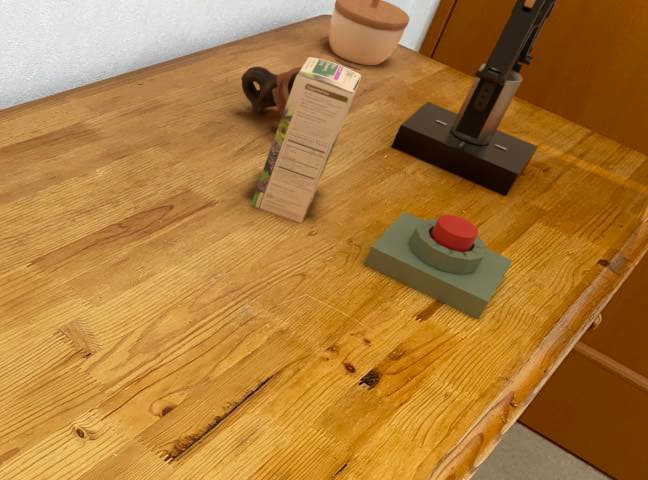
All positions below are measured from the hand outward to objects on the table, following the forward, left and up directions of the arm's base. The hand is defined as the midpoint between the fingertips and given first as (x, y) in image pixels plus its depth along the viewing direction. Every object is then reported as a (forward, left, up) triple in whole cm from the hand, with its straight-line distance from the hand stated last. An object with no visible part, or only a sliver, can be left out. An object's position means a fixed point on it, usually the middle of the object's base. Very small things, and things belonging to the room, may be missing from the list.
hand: (476, 122), depth 105 cm
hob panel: (0, 0, -5) cm, 5 cm away
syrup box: (+11, +31, -5) cm, 33 cm away
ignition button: (-6, +30, -1) cm, 31 cm away
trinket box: (+22, -18, -5) cm, 29 cm away
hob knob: (0, 0, -2) cm, 2 cm away
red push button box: (-6, +30, -5) cm, 31 cm away
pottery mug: (+20, +13, -5) cm, 24 cm away
